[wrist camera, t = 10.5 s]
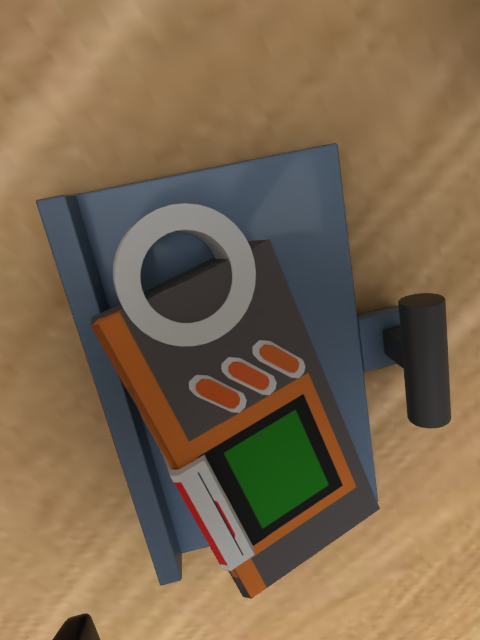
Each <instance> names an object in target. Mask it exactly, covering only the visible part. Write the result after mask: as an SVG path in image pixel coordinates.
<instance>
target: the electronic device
mask: <svg viewBox="0 0 480 640" xmlns="http://www.w3.org/2000/svg"><path fill="white" fill-rule="evenodd" d="M171 232H182V233H187V234H190V235H193V236H195V237H197V238H199V239H200V240H201V241H203V242H204V243H205V244H206V245H207V246H208V247H209V248H210V250H211V251H212V253H213V255H214V257H215V258H213V259H211V260H208V261H206V262H204V263H202V264H200V265H198V266H196V267H194V268H192V269H190V270H188V271H186V272H184V273H182V274H180V275H178V276H176V277H174V278H172V279H170V280H167V281H165V282H163V283H161V284H159V285H157V286H155V287H153V288H151V289H149V290H147V291H145V292H143V291H142V287H141V281H140V273H141V266H142V262H143V259H144V257H145V255H146V253H147V251H148V250H149V248H150V247H151V246H152V244H154V243H155V242H156V241H157V240H158V239H159V238H161V237H162V236H164V235H166V234H167V233H171ZM113 281H114V286H115V291H116V293H117V296H118V298H119V301H120V304H118V305H116V306H114V307H112V308H110V309H108V310H106V311H104V312H102V313H100V314H98V315H96V316H94V317H92V318H91V327H92V329H93V331H94V332H95V334H96V336H97V338H98V340H99V341H100V343H101V345H102V347H103V348H104V350H105V352H106V354H107V356H108V357H109V359H110V361H111V363H112V364H113V366H114V368H115V370H116V372H117V373H118V375H119V377H120V379H121V381H122V382H123V384H124V386H125V388H126V389H127V391H128V393H129V395H130V397H131V398H132V400H133V402H134V404H135V405H136V407H137V409H138V411H139V413H140V414H141V416H142V418H143V420H144V421H145V423H146V425H147V427H148V429H149V430H150V432H151V434H152V436H153V437H154V439H155V441H156V443H157V445H158V446H159V448H160V451H161V453H162V454H163V457H164V460H165V462H166V465H167V468H168V471H169V475H170V477H171V479H172V480H173V482H174V484H175V486H176V487H177V489H178V491H179V493H180V494H181V496H182V498H183V500H184V502H185V503H186V505H187V507H188V509H189V510H190V512H191V514H192V516H193V517H194V519H195V521H196V523H197V524H198V526H199V528H200V530H201V532H202V533H203V535H204V537H205V539H206V540H207V542H208V544H209V546H210V547H211V549H212V551H213V553H214V555H215V556H216V558H217V560H218V562H219V563H220V565H221V567H222V569H224V570H228V571H229V573H230V574H231V576H232V578H233V580H234V582H235V583H236V585H237V587H238V589H239V590H240V592H241V594H242V596H243V597H246V598H251V599H252V598H253V597H254V596H256V595H257V594H259V593H260V592H262V591H263V590H264V589H266V588H267V587H269V586H270V585H272V584H273V583H274V582H276V581H277V580H279V579H280V578H282V577H283V576H284V575H286V574H287V573H289V572H290V571H292V570H293V569H294V568H296V567H297V566H299V565H300V564H302V563H303V562H304V561H306V560H307V559H309V558H310V557H312V556H313V555H314V554H316V553H317V552H319V551H320V550H322V549H323V548H324V547H326V546H327V545H329V544H330V543H332V542H333V541H334V540H336V539H337V538H339V537H340V536H342V535H343V534H345V533H346V532H347V531H349V530H350V529H352V528H353V527H355V526H356V525H357V524H359V523H360V522H362V521H363V520H365V519H366V518H367V517H369V516H370V515H372V514H373V513H375V512H376V511H377V510H379V509H380V508H379V505H378V503H377V501H376V498H375V496H374V493H373V491H372V488H371V486H370V483H369V481H368V479H367V476H366V474H365V471H364V469H363V466H362V464H361V462H360V459H359V457H358V454H357V452H356V449H355V447H354V444H353V442H352V440H351V437H350V435H349V432H348V430H347V427H346V425H345V422H344V420H343V418H342V415H341V413H340V410H339V408H338V405H337V403H336V400H335V398H334V396H333V393H332V391H331V388H330V386H329V383H328V381H327V378H326V376H325V374H324V371H323V369H322V366H321V364H320V361H319V359H318V356H317V354H316V352H315V349H314V347H313V344H312V342H311V339H310V337H309V334H308V332H307V330H306V327H305V325H304V322H303V320H302V317H301V315H300V312H299V310H298V308H297V305H296V303H295V300H294V298H293V295H292V293H291V290H290V288H289V286H288V283H287V281H286V278H285V276H284V273H283V271H282V268H281V266H280V264H279V261H278V259H277V256H276V254H275V251H274V249H273V246H272V244H271V242H270V239H267V240H254V241H247V240H246V238H245V236H244V234H243V233H242V232H241V231H240V230H239V228H238V227H237V226H236V225H235V224H234V223H233V222H232V221H231V220H230V219H228V218H227V217H226V216H225V215H223V214H221V213H219V212H217V211H216V210H214V209H212V208H208V207H205V206H202V205H198V204H188V203H183V204H173V205H169V206H165V207H162V208H159V209H157V210H155V211H153V212H151V213H150V214H148V215H146V216H144V217H143V218H142V219H140V220H139V221H138V222H137V223H136V224H135V225H133V226H132V227H131V228H130V229H129V230H128V232H127V233H126V234H125V236H124V237H123V238H122V240H121V242H120V244H119V246H118V249H117V251H116V254H115V259H114V263H113Z"/></svg>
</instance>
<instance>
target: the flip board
mask: <svg viewBox="0 0 480 640" xmlns="http://www.w3.org/2000/svg"><path fill="white" fill-rule="evenodd" d="M183 203H188V204H198V205H202V206H205V207H208V208H212V209H214V210H216V211H217V212H219V213H221V214H223V215H225V216H226V217H227V218H228V219H230V220H231V221H232V222H233V223H234V224H235V225H236V226H237V227H238V228H239V230H240V231H241V232H242V233H243V234H244V236H245V238H246V240H247V241H254V240H267V239H270V242H271V244H272V246H273V249H274V251H275V254H276V256H277V259H278V261H279V264H280V266H281V268H282V271H283V273H284V276H285V278H286V281H287V283H288V286H289V288H290V290H291V293H292V295H293V298H294V300H295V303H296V305H297V308H298V310H299V312H300V315H301V317H302V320H303V322H304V325H305V327H306V330H307V332H308V334H309V337H310V339H311V342H312V344H313V347H314V349H315V352H316V354H317V356H318V359H319V361H320V364H321V366H322V369H323V371H324V374H325V376H326V378H327V381H328V383H329V386H330V388H331V391H332V393H333V396H334V398H335V400H336V403H337V405H338V408H339V410H340V413H341V415H342V418H343V420H344V422H345V425H346V427H347V430H348V432H349V435H350V437H351V440H352V442H353V444H354V447H355V449H356V452H357V454H358V457H359V459H360V462H361V464H362V466H363V469H364V471H365V474H366V476H367V479H368V481H369V483H370V486H371V488H372V491H373V493H374V496H375V498H376V501H377V502H378V496H377V488H376V479H375V470H374V461H373V452H372V444H371V435H370V426H369V417H368V408H367V400H366V391H365V382H364V373H363V371H369V370H373V369H377V368H382V367H386V366H390V365H394V364H398V365H400V366H401V367H402V368H403V369H404V379H405V391H406V403H407V415H408V419H409V421H410V422H411V423H413V424H414V425H416V426H419V427H423V428H439V427H443V426H445V425H447V424H448V423H449V422H450V420H451V407H450V386H449V366H448V345H447V324H446V303H445V298H444V297H443V296H442V295H438V294H431V293H422V294H413V295H409V296H406V297H403V298H401V299H400V300H399V302H398V306H394V307H390V308H385V309H381V310H376V311H372V312H368V313H363V314H359V315H357V312H356V303H355V294H354V286H353V277H352V268H351V259H350V250H349V242H348V233H347V224H346V215H345V206H344V198H343V189H342V180H341V171H340V163H339V154H338V145H337V144H336V143H333V144H328V145H323V146H318V147H313V148H308V149H303V150H298V151H293V152H288V153H283V154H278V155H273V156H268V157H263V158H258V159H253V160H247V161H242V162H237V163H232V164H227V165H222V166H217V167H212V168H207V169H202V170H197V171H192V172H187V173H182V174H177V175H172V176H167V177H162V178H157V179H151V180H146V181H141V182H136V183H131V184H126V185H121V186H116V187H111V188H106V189H101V190H96V191H91V192H86V193H81V194H76V195H61V196H56V197H50V198H45V199H40V200H37V201H36V204H37V207H38V210H39V213H40V216H41V219H42V222H43V225H44V228H45V231H46V234H47V238H48V241H49V244H50V247H51V250H52V253H53V256H54V259H55V262H56V265H57V268H58V271H59V275H60V278H61V281H62V284H63V287H64V290H65V293H66V296H67V299H68V302H69V305H70V308H71V312H72V315H73V318H74V321H75V324H76V327H77V330H78V333H79V336H80V339H81V342H82V345H83V349H84V352H85V355H86V358H87V361H88V364H89V367H90V370H91V373H92V376H93V379H94V382H95V386H96V389H97V392H98V395H99V398H100V401H101V404H102V407H103V410H104V413H105V416H106V419H107V423H108V426H109V429H110V432H111V435H112V438H113V441H114V444H115V447H116V450H117V453H118V456H119V460H120V463H121V466H122V469H123V472H124V475H125V478H126V481H127V484H128V487H129V490H130V494H131V497H132V500H133V503H134V506H135V509H136V512H137V515H138V518H139V521H140V524H141V527H142V531H143V534H144V537H145V540H146V543H147V546H148V549H149V552H150V555H151V558H152V561H153V564H154V568H155V571H156V574H157V577H158V580H159V583H160V585H165V584H169V583H172V582H176V581H180V580H181V579H182V554H181V553H185V552H189V551H193V550H196V549H200V548H204V547H208V546H209V544H208V542H207V540H206V539H205V537H204V535H203V533H202V532H201V530H200V528H199V526H198V524H197V523H196V521H195V519H194V517H193V516H192V514H191V512H190V510H189V509H188V507H187V505H186V503H185V502H184V500H183V498H182V496H181V494H180V493H179V491H178V489H177V487H176V486H175V484H174V482H173V480H172V479H171V477H170V475H169V471H168V468H167V465H166V462H165V460H164V457H163V454H162V453H161V451H160V448H159V446H158V445H157V443H156V441H155V439H154V437H153V436H152V434H151V432H150V430H149V429H148V427H147V425H146V423H145V421H144V420H143V418H142V416H141V414H140V413H139V411H138V409H137V407H136V405H135V404H134V402H133V400H132V398H131V397H130V395H129V393H128V391H127V389H126V388H125V386H124V384H123V382H122V381H121V379H120V377H119V375H118V373H117V372H116V370H115V368H114V366H113V364H112V363H111V361H110V359H109V357H108V356H107V354H106V352H105V350H104V348H103V347H102V345H101V343H100V341H99V340H98V338H97V336H96V334H95V332H94V331H93V329H92V327H91V318H92V317H94V316H96V315H98V314H100V313H102V312H104V311H106V310H108V309H110V308H112V307H114V306H116V305H118V304H120V301H119V298H118V296H117V293H116V291H115V286H114V281H113V263H114V259H115V254H116V251H117V249H118V246H119V244H120V242H121V240H122V238H123V237H124V236H125V234H126V233H127V232H128V230H129V229H130V228H131V227H132V226H133V225H135V224H136V223H137V222H138V221H139V220H140V219H142V218H143V217H144V216H146V215H148V214H150V213H151V212H153V211H155V210H157V209H159V208H162V207H165V206H169V205H173V204H183ZM213 258H215V257H214V255H213V253H212V251H211V250H210V248H209V247H208V246H207V245H206V244H205V243H204V242H203V241H201V240H200V239H199V238H197V237H195V236H193V235H190V234H187V233H182V232H171V233H167V234H166V235H164V236H162V237H161V238H159V239H158V240H157V241H156V242H155V243H154V244H152V246H151V247H150V248H149V250H148V251H147V253H146V255H145V257H144V259H143V262H142V266H141V273H140V281H141V287H142V291H143V292H145V291H147V290H149V289H151V288H153V287H155V286H157V285H159V284H161V283H163V282H165V281H167V280H170V279H172V278H174V277H176V276H178V275H180V274H182V273H184V272H186V271H188V270H190V269H192V268H194V267H196V266H198V265H200V264H202V263H204V262H206V261H208V260H211V259H213Z"/></svg>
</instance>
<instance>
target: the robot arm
mask: <svg viewBox="0 0 480 640" xmlns="http://www.w3.org/2000/svg"><path fill="white" fill-rule="evenodd" d="M53 640H100V638H99V635H98V633H97V630H96V628H95V625H94V623H93V620H92V618H91V616H90V615H89V614H81V615H77V616H73V617H70V618H68V619H67V620H66V621H65V622H64V624H63V625H62V627H61V628H60V630H59V631H58V632H57V634H56V635H55V637H54V638H53Z"/></svg>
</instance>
